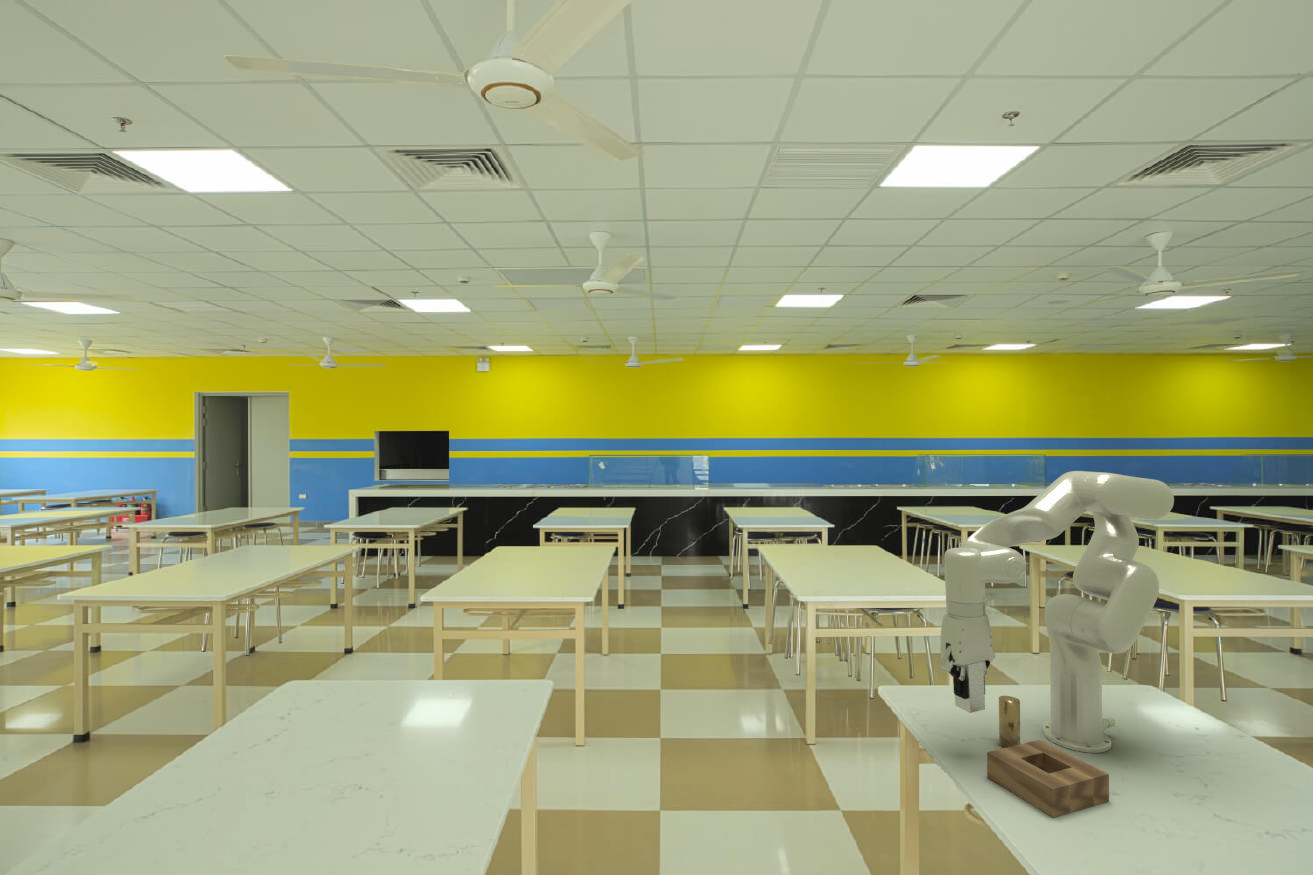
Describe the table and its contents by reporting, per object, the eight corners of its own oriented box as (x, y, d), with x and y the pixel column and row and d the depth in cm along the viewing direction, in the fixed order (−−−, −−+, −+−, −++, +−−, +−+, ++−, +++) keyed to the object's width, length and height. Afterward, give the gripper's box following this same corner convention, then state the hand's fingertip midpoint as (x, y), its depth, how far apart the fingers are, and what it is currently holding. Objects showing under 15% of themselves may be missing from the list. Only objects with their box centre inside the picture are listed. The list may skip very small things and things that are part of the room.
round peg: (1008, 739, 140) (1008, 694, 140) (1024, 748, 136) (1024, 701, 136) (994, 742, 139) (994, 697, 139) (1010, 751, 135) (1010, 704, 135)
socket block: (1039, 764, 130) (1039, 739, 130) (1109, 801, 116) (1108, 773, 116) (987, 777, 125) (987, 752, 125) (1053, 817, 112) (1052, 789, 112)
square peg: (969, 701, 136) (967, 655, 136) (985, 709, 132) (983, 661, 132) (955, 705, 135) (953, 658, 135) (970, 712, 131) (968, 664, 131)
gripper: (981, 598, 140) (985, 681, 140) (920, 608, 134) (924, 695, 134) (1011, 606, 133) (1014, 693, 133) (948, 618, 127) (952, 709, 127)
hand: (969, 693), depth 134 cm, fingers closed on square peg, 4 cm apart
